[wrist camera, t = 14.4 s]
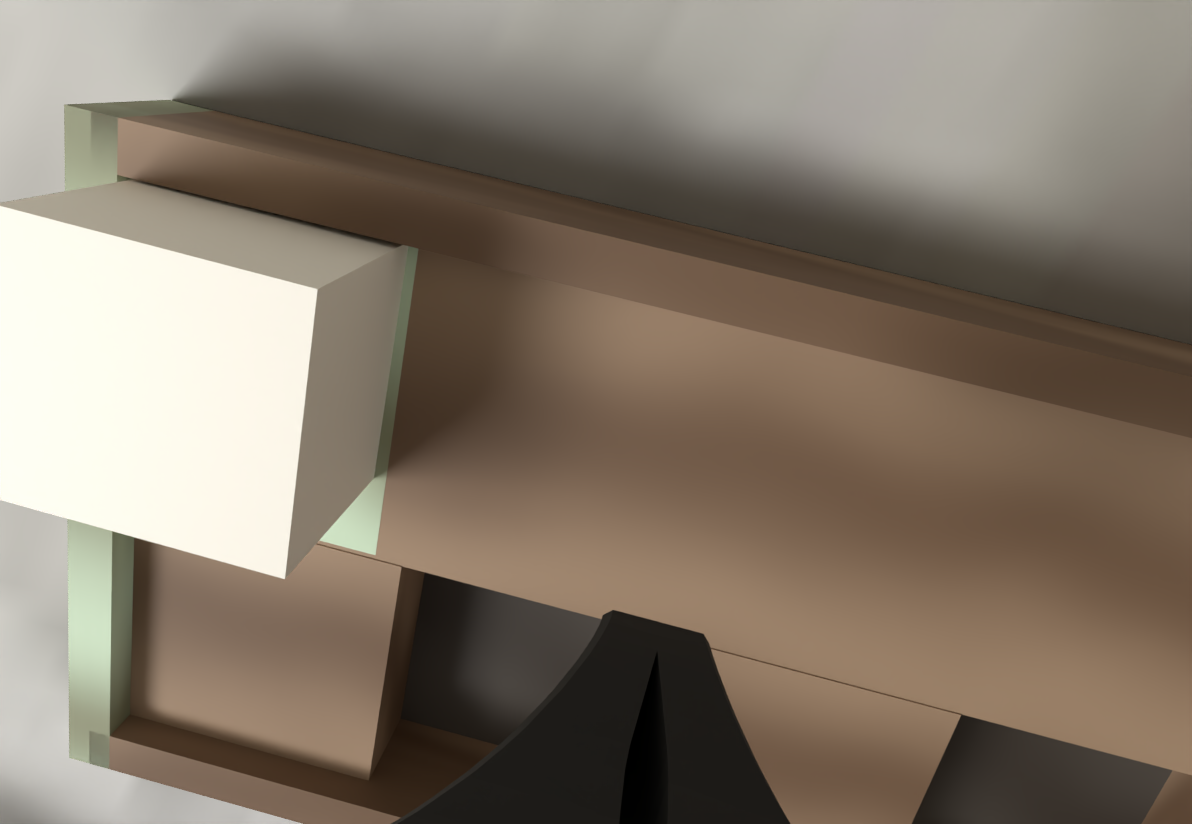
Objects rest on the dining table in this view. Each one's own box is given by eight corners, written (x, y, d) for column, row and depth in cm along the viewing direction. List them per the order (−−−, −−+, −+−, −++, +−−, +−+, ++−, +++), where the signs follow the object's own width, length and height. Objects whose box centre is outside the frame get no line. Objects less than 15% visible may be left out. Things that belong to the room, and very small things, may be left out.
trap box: (1411, 1022, 23) (1514, 1165, 20) (149, 674, 24) (69, 757, 21) (1840, 500, 17) (2073, 589, 14) (168, 99, 19) (64, 104, 16)
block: (373, 478, 19) (284, 578, 15) (144, 415, 19) (0, 500, 15) (409, 241, 17) (317, 289, 13) (154, 175, 17) (-7, 203, 13)
